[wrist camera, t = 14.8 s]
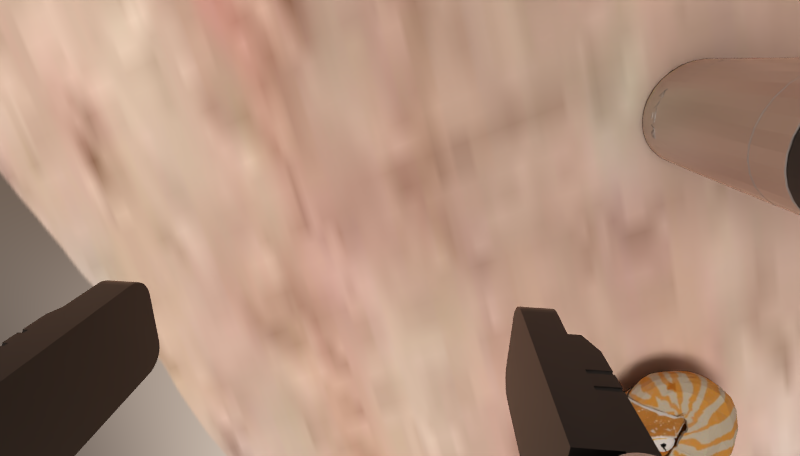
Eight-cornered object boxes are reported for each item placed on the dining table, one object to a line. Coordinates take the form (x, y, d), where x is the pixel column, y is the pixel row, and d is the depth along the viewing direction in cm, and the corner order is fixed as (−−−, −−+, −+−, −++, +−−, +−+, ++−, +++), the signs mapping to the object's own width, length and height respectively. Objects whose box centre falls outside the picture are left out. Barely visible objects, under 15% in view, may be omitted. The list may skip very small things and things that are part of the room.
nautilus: (551, 478, 57) (511, 387, 53) (733, 442, 51) (702, 338, 47) (564, 539, 49) (518, 439, 46) (777, 504, 44) (746, 387, 40)
